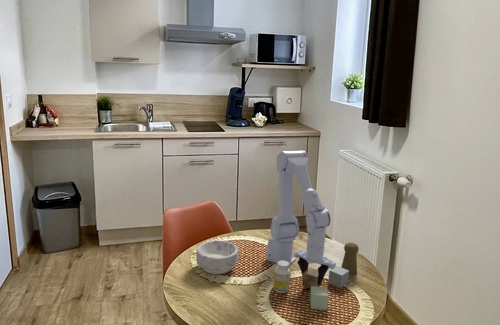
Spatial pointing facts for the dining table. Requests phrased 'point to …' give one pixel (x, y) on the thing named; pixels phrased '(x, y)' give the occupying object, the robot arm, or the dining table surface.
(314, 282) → the walnut block
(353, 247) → the olive brown rounded piece
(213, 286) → the dining table surface
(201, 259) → the white purple bowl
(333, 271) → the slate grey block
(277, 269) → the supplement bottle
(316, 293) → the sage green block
